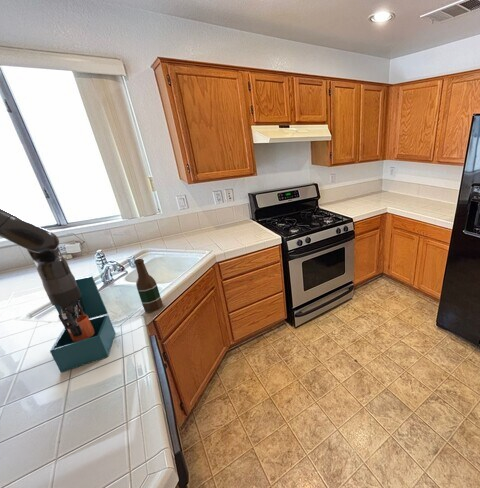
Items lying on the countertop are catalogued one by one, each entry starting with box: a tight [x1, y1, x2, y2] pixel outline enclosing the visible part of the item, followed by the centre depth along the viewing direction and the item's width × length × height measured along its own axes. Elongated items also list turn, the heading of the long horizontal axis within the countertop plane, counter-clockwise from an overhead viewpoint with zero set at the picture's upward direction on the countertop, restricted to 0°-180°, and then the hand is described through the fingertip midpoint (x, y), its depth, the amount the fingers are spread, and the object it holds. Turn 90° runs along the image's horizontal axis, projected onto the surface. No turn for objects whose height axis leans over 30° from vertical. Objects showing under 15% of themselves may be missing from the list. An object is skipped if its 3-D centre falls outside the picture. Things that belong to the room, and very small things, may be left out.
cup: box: [67, 315, 95, 342], centre depth 91 cm, size 6×6×7 cm
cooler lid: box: [54, 275, 109, 319], centre depth 97 cm, size 16×13×5 cm
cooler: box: [49, 314, 116, 373], centre depth 94 cm, size 16×13×9 cm
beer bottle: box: [133, 258, 163, 313], centre depth 117 cm, size 8×8×24 cm
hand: (81, 330), depth 92 cm, fingers closed on cup, 6 cm apart
